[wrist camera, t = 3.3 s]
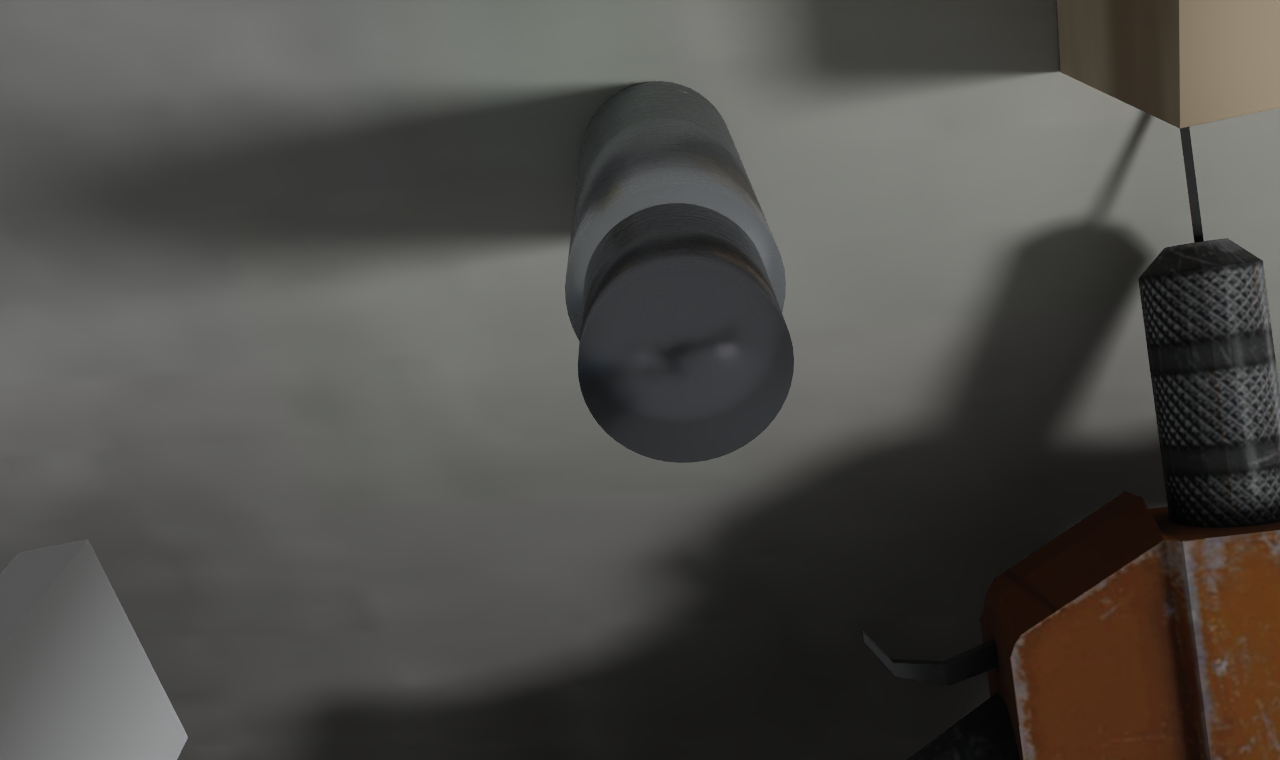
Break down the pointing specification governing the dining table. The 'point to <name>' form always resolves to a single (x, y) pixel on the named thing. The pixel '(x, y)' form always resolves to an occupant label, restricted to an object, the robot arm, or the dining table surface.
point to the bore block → (1176, 55)
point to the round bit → (674, 281)
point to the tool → (1153, 560)
